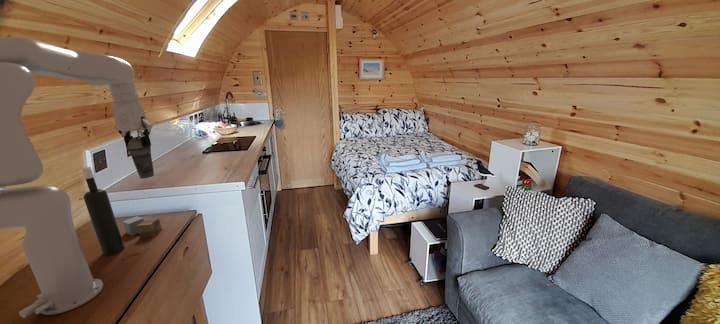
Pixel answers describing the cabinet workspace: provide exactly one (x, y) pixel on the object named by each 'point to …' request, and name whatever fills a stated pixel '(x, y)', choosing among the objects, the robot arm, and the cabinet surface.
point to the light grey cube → (132, 225)
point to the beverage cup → (141, 157)
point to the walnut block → (149, 227)
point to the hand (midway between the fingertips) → (138, 146)
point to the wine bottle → (102, 216)
